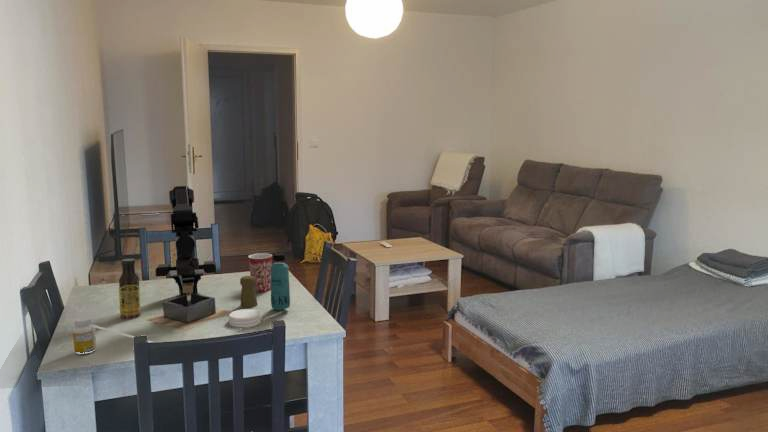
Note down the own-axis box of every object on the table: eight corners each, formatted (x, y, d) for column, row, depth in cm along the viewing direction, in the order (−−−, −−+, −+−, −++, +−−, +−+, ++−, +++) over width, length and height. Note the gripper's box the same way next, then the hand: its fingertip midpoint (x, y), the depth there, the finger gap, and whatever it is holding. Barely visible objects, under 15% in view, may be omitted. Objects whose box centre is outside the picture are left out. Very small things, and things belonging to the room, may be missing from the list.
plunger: (169, 315, 190) (167, 286, 188) (191, 307, 197) (189, 279, 196) (188, 319, 185) (186, 289, 183) (210, 311, 193) (208, 283, 191)
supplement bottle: (80, 348, 165) (77, 316, 164) (99, 348, 166) (96, 315, 164) (71, 356, 160) (67, 322, 159) (91, 355, 160) (87, 321, 159)
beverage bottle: (272, 308, 200) (269, 252, 197) (291, 307, 200) (289, 251, 197) (270, 314, 193) (267, 256, 190) (290, 313, 194) (287, 255, 191)
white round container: (234, 318, 190) (233, 308, 190) (264, 318, 190) (263, 308, 189) (224, 329, 180) (224, 318, 180) (256, 329, 180) (255, 318, 179)
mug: (277, 290, 222) (276, 255, 220) (255, 294, 217) (254, 259, 215) (263, 283, 232) (262, 250, 230) (242, 287, 227) (240, 253, 225)
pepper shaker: (253, 310, 198) (251, 279, 196) (237, 309, 199) (235, 278, 198) (260, 304, 204) (259, 274, 202) (244, 303, 205) (243, 273, 204)
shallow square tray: (159, 316, 190) (158, 300, 190) (187, 307, 200) (186, 291, 199) (187, 323, 183) (186, 307, 182) (215, 313, 193) (214, 297, 192)
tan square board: (144, 321, 188) (144, 319, 188) (193, 304, 205) (193, 303, 205) (186, 331, 178) (185, 330, 178) (234, 313, 194) (234, 312, 194)
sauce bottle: (121, 322, 187) (115, 262, 184) (120, 316, 193) (114, 258, 190) (142, 319, 190) (138, 260, 187) (141, 313, 196) (136, 256, 193)
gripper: (151, 254, 178) (154, 303, 180) (213, 250, 182) (216, 298, 184) (156, 247, 188) (159, 293, 191) (215, 244, 193) (218, 289, 195)
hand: (188, 293), depth 190 cm, fingers closed on plunger, 3 cm apart
